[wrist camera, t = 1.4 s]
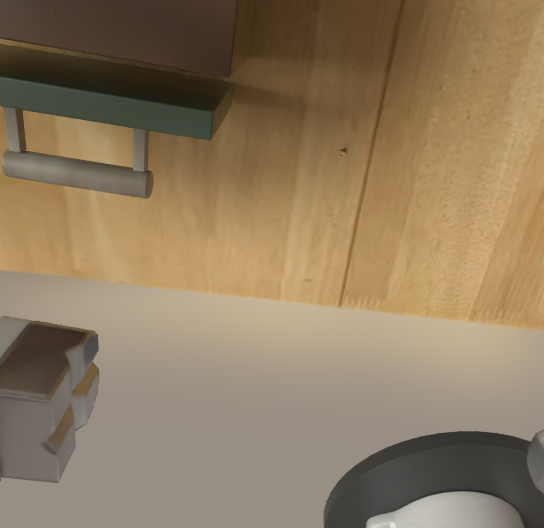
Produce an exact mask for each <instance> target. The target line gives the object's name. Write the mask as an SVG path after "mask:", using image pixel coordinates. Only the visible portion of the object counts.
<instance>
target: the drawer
mask: <svg viewBox="0 0 544 528" xmlns="http://www.w3.org/2000/svg"><path fill="white" fill-rule="evenodd" d="M181 70H182V71H188V72H193V73H201V72H195V71H189V70H183V69H181ZM233 89H234V84H232V83H226V82H221V81H215V80H209V79H203V78H197V77H191V76H185V75H179V74H173V73H168V72H162V71H156V70H150V69H144V68H138V67H132V66H126V65H120V64H115V63H109V62H103V61H97V60H91V59H85V58H79V57H73V56H67V55H62V54H56V53H50V52H44V51H38V50H32V49H26V48H20V47H15V46H9V45H3V44H0V106H2V107H3V108H4V117H5V125H6V133H7V141H8V150H6V151H5V153H4V155H3V158H2V169H3V172H4V174H5V175H6V176H8V177H12V178H18V179H25V180H31V181H37V182H44V183H50V184H56V185H63V186H69V187H76V188H82V189H88V190H95V191H101V192H107V193H114V194H120V195H126V196H133V197H139V198H146V199H148V198H149V197H150V196H151V193H152V189H153V173H152V171H148V170H147V169H148V143H149V131H155V132H161V133H167V134H173V135H179V136H185V137H191V138H197V139H204V140H211V139H212V137H213V136H214V134H215V132H216V131H217V129H218V127H219V126H220V124H221V122H222V121H223V119H224V117H225V115H226V114H227V112H228V110H229V109H230V107H231V105H232V98H233ZM22 110H27V111H33V112H39V113H45V114H51V115H57V116H63V117H69V118H75V119H82V120H88V121H94V122H100V123H106V124H112V125H118V126H124V127H130V128H134V133H133V168H130V167H123V166H117V165H111V164H105V163H98V162H92V161H86V160H80V159H73V158H67V157H61V156H55V155H48V154H42V153H36V152H30V151H25V150H26V140H25V131H24V121H23V111H22Z"/></svg>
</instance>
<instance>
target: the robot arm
mask: <svg viewBox="0 0 544 528" xmlns="http://www.w3.org/2000/svg"><path fill="white" fill-rule="evenodd" d="M97 352H98V334H96V332H95V331H92V330H86V329H80V328H75V327H69V326H63V325H58V324H52V323H46V322H40V321H30V320H26V319H20V318H14V317H9V316H3V317H1V318H0V481H1V477H4V478H15V479H24V480H33V481H43V482H52V483H58V482H59V480H60V478H61V476H62V474H63V472H64V469H65V467H66V465H67V463H68V461H69V459H70V457H71V455H72V453H73V451H74V449H75V431H77V430H78V429H79V428H81V427H83V426H84V425H86V423H87V421H88V419H89V417H90V415H91V412H92V410H93V407H94V403H95V400H96V396H97V392H98V385H99V369H98V368H97V366H96V365H95V364H94V363H93V362H92V361H93V359H94V357H95V355H96V354H97ZM527 464H528V469H529V473H530V476H531V478H532V480H533V482H534V484H535V486H536V488H537V489H538V490H539V491H540V492H542V493H543V494H544V430H542V431H540V432H538V433H536V434H535V436H534V438H533V439H532V441H531V443H530V444H529V446H528V454H527ZM366 528H525V527H524V525H523V522H522V519H521V516H520V514H519V513H518V511H517V510H516V509H515V508H514V507H513V506H512V505H511V504H509V503H508V502H506V501H504V500H502V499H500V498H498V497H495V496H492V495H489V494H484V493H479V492H469V491H455V492H445V493H439V494H434V495H431V496H427V497H424V498H421V499H419V500H416V501H414V502H412V503H410V504H408V505H406V506H404V507H403V508H401V509H399V510H396V511H394V512H389V513H385V514H381V515H377V516H374V517H371V518H370V519H368V521H367V523H366Z"/></svg>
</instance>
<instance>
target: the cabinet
mask: <svg viewBox="0 0 544 528" xmlns="http://www.w3.org/2000/svg"><path fill="white" fill-rule="evenodd" d="M255 8H256V0H0V38H1V39H7V40H13V41H19V42H25V43H30V44H36V45H42V46H48V47H54V48H60V49H66V50H71V51H77V52H83V53H89V54H95V55H101V56H107V57H113V58H118V59H124V60H130V61H136V62H142V63H148V64H154V65H159V66H165V67H171V68H177V69H183V70H189V71H195V72H201V73H206V74H212V75H218V76H224V77H230V76H231V75H232V74H233V73H234V72H235V71H236V69H237V68H238V67H239V66H240V65H241V64H242V62H243V61H244V60H245V59H246V58H247V56H248V55H249V54H250V49H251V41H252V33H253V24H254V16H255Z"/></svg>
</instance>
